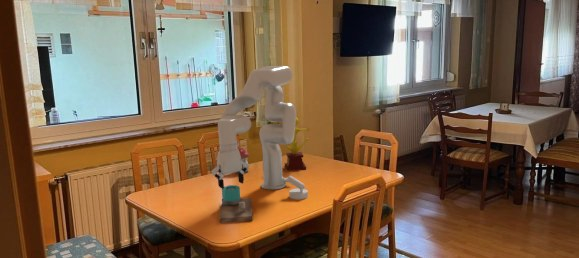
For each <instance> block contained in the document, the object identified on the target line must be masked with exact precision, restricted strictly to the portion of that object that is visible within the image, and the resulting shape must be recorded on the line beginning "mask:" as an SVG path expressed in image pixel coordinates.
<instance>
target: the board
mask: <svg viewBox="0 0 579 258" xmlns="http://www.w3.org/2000/svg"><path fill="white" fill-rule="evenodd" d="M229 189H233V188H229ZM252 205H253V204H252V197H246V198H245V197H244V198H242V196H240V199H239V200H236V201H233V202H232V201H224V200H223V199H222V198H221V206H220V214H219V223H220V224H224V223H239V222H250V221H251V222H252V221H254V220H253V207H252Z"/></svg>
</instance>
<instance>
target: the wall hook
mask: <svg viewBox="0 0 579 258" xmlns="http://www.w3.org/2000/svg"><path fill="white" fill-rule="evenodd" d="M286 178H287V181H288V182H287V183H289V184H291V185H292V186H294V187H296V188H292V189H290V190H289V192H288V193H289V198H290V199H292V200H305V199H308V197H309V194H308V193H309V191H308V190H307V189H305V188H306V185H305V183H304V182H302V181H300V180H298V179H297V178H296V177H294V176H292V175H289V176H288V177H286Z"/></svg>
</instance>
